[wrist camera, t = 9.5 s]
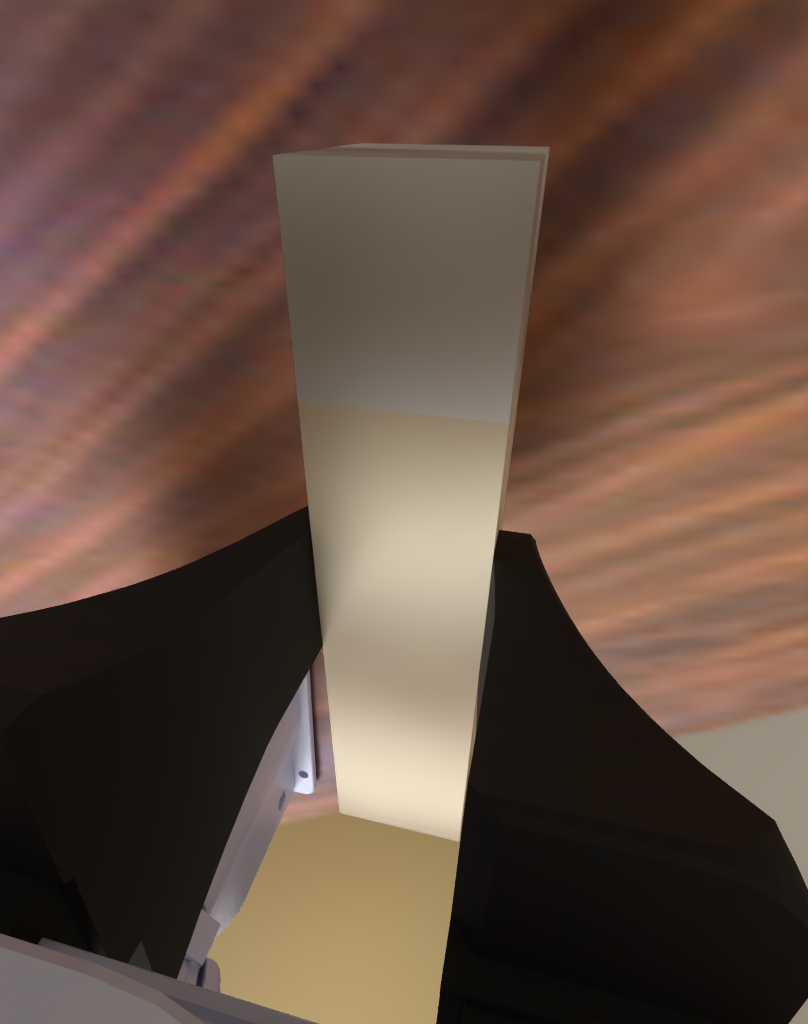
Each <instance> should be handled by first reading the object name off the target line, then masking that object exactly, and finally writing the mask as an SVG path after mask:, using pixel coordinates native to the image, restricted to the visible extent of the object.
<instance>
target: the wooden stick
mask: <svg viewBox="0 0 808 1024" xmlns="http://www.w3.org/2000/svg"><path fill="white" fill-rule="evenodd" d="M549 151H550V147H539V146H487V145H434V144H382V143H358V144H351V145H343V146H336V147H328V148H321V149H313V150H306V151H299V152H291V153H284V154H276V155H273V165H274V175H275V185H276V195H277V204H278V214H279V224H280V234H281V243H282V253H283V263H284V273H285V282H286V292H287V302H288V312H289V322H290V331H291V341H292V351H293V361H294V370H295V380H296V390H297V400H298V409H299V419H300V429H301V439H302V449H303V458H304V468H305V478H306V488H307V497H308V507H309V517H310V527H311V536H312V546H313V556H314V566H315V576H316V585H317V595H318V605H319V615H320V624H321V633H322V642H323V654H324V664H325V673H326V683H327V693H328V703H329V712H330V722H331V732H332V742H333V751H334V761H335V771H336V781H337V791H338V800H339V810H340V813H343V814H347V815H352V816H355V817H360V818H364V819H368V820H372V821H376V822H380V823H385V824H388V825H393V826H397V827H401V828H405V829H410V830H414V831H418V832H422V833H426V834H430V835H434V836H438V837H442V838H446V839H450V840H454V841H459V838H460V831H461V825H462V818H463V812H464V806H465V799H466V792H467V784H468V778H469V772H470V766H471V760H472V753H473V747H474V740H475V734H476V720H477V700H478V680H479V669H480V661H481V654H482V646H483V638H484V630H485V622H486V614H487V605H488V597H489V589H490V581H491V573H492V565H493V557H494V551H495V546H496V541H497V537H498V533H499V530H502V523H503V515H504V507H505V499H506V491H507V483H508V476H509V468H510V460H511V452H512V444H513V436H514V428H515V420H516V412H517V404H518V396H519V388H520V381H521V373H522V365H523V357H524V349H525V341H526V333H527V325H528V317H529V309H530V301H531V293H532V286H533V278H534V270H535V262H536V254H537V246H538V238H539V230H540V222H541V214H542V206H543V198H544V191H545V183H546V175H547V167H548V159H549Z"/></svg>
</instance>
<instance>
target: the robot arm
mask: <svg viewBox="0 0 808 1024" xmlns="http://www.w3.org/2000/svg"><path fill="white" fill-rule="evenodd" d="M322 646H323V642H322V633H321V624H320V615H319V605H318V595H317V585H316V576H315V566H314V556H313V546H312V536H311V527H310V517H309V507H308V506H307V507H305V508H303V509H300V510H298V511H296V512H294V513H292V514H290V515H288V516H286V517H284V518H282V519H281V520H279V521H277V522H275V523H273V524H271V525H269V526H267V527H265V528H263V529H261V530H259V531H257V532H255V533H253V534H251V535H249V536H247V537H246V538H244V539H242V540H240V541H238V542H236V543H233V544H231V545H229V546H227V547H225V548H223V549H220V550H218V551H216V552H214V553H212V554H209V555H207V556H205V557H203V558H201V559H199V560H196V561H194V562H192V563H190V564H187V565H185V566H182V567H180V568H177V569H175V570H172V571H170V572H167V573H165V574H162V575H159V576H156V577H153V578H151V579H148V580H145V581H142V582H139V583H136V584H133V585H130V586H127V587H124V588H120V589H117V590H113V591H110V592H106V593H103V594H99V595H96V596H92V597H89V598H85V599H82V600H78V601H75V602H71V603H67V604H63V605H59V606H54V607H50V608H45V609H41V610H37V611H32V612H27V613H22V614H17V615H12V616H7V617H2V618H0V1024H318V1023H315V1022H311V1021H308V1020H305V1019H302V1018H299V1017H295V1016H292V1015H289V1014H286V1013H283V1012H279V1011H276V1010H273V1009H270V1008H266V1007H263V1006H260V1005H257V1004H254V1003H251V1002H247V1001H244V1000H241V999H238V998H234V997H231V996H228V995H225V994H222V993H220V981H221V979H220V968H219V967H218V964H217V963H216V962H215V961H214V960H212V959H210V958H208V957H207V954H208V952H209V950H210V948H211V945H212V943H213V941H214V939H215V938H216V937H217V936H218V935H219V934H220V933H222V932H223V931H224V929H225V928H226V927H227V926H228V925H229V924H230V923H231V922H232V920H233V919H234V918H235V916H236V915H237V913H238V912H239V910H240V908H241V907H242V905H243V903H244V901H245V899H246V897H247V894H248V892H249V890H250V887H251V885H252V883H253V881H254V879H255V876H256V874H257V872H258V869H259V867H260V865H261V863H262V861H263V859H264V856H265V854H266V852H267V850H268V847H269V845H270V843H271V841H272V838H273V836H274V834H275V832H276V829H277V827H278V825H279V823H280V820H281V818H282V816H283V814H284V811H285V809H286V807H287V805H288V803H289V800H290V798H291V796H292V794H293V791H296V792H300V793H304V794H310V793H313V792H314V790H315V787H316V768H315V751H314V735H313V719H312V702H311V686H310V668H311V666H312V664H313V662H314V660H315V659H316V657H317V655H318V653H319V651H320V649H321V648H322ZM807 999H808V889H807V887H806V885H805V882H804V880H803V878H802V876H801V873H800V871H799V869H798V867H797V864H796V862H795V861H794V858H793V856H792V854H791V853H790V851H789V848H788V847H787V845H786V843H785V841H784V839H783V837H782V834H781V832H780V830H779V828H778V827H777V824H776V822H775V820H773V819H772V818H771V817H770V816H768V815H767V814H766V813H764V812H763V811H762V810H760V809H759V808H758V807H757V806H755V805H754V804H753V803H751V802H750V801H749V800H747V799H746V798H745V797H744V796H742V795H741V794H740V793H738V792H737V791H736V790H734V789H733V788H732V787H730V786H729V785H728V784H727V783H725V782H724V781H723V780H722V779H720V778H719V777H718V776H716V775H715V774H714V773H712V772H711V771H710V770H709V769H707V768H706V767H705V766H704V765H702V764H701V763H700V762H699V761H698V760H696V759H695V758H694V757H693V756H692V755H691V754H690V753H689V752H688V751H686V750H685V749H684V748H682V746H681V745H680V744H678V743H677V742H676V741H675V740H674V739H673V738H672V737H671V736H669V735H668V734H667V733H666V732H665V731H664V730H663V729H662V728H661V727H660V726H659V725H658V724H657V723H656V722H655V721H654V720H652V719H651V718H650V717H649V716H648V714H647V713H646V712H645V711H644V710H643V709H642V708H641V707H640V706H639V705H638V704H637V703H636V702H635V701H634V700H633V699H632V698H631V697H630V696H629V695H628V694H627V693H626V692H625V691H624V689H623V688H622V687H621V686H620V685H619V684H618V683H617V682H616V680H615V679H614V678H613V677H612V676H611V674H610V673H609V672H608V671H607V669H606V668H605V667H604V666H603V664H602V663H601V662H600V660H599V659H598V658H597V657H596V655H595V654H594V653H593V651H592V650H591V648H590V647H589V646H588V644H587V643H586V641H585V640H584V638H583V637H582V635H581V634H580V632H579V631H578V629H577V628H576V626H575V624H574V623H573V621H572V620H571V618H570V616H569V615H568V613H567V611H566V609H565V608H564V606H563V604H562V602H561V600H560V599H559V597H558V595H557V593H556V591H555V589H554V587H553V585H552V583H551V581H550V579H549V577H548V575H547V572H546V570H545V568H544V565H543V563H542V560H541V558H540V555H539V552H538V549H537V545H536V541H535V539H534V538H533V537H532V536H531V534H525V533H518V532H511V531H503V530H499V533H498V537H497V541H496V546H495V551H494V557H493V565H492V573H491V581H490V589H489V597H488V605H487V614H486V622H485V630H484V638H483V646H482V654H481V661H480V669H479V680H478V700H477V720H476V737H475V743H474V749H473V755H472V761H471V767H470V772H469V778H468V784H467V792H466V800H465V808H464V816H463V824H462V832H461V841H460V848H459V856H458V864H457V873H456V880H455V889H454V897H453V904H452V912H451V920H450V926H449V933H448V940H447V947H446V953H445V960H444V966H443V974H442V981H441V987H440V998H439V1006H438V1015H437V1023H436V1024H788V1023H789V1022H790V1021H791V1019H792V1018H793V1017H794V1016H795V1014H796V1013H797V1012H798V1010H799V1009H800V1008H801V1006H802V1005H803V1004H804V1003H805V1001H806V1000H807Z"/></svg>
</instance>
